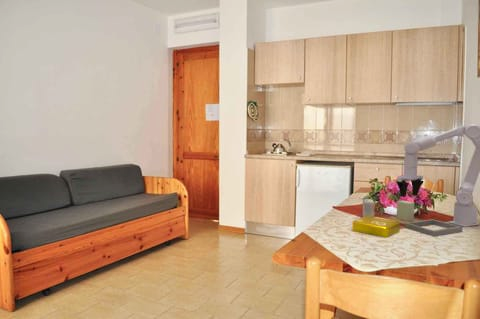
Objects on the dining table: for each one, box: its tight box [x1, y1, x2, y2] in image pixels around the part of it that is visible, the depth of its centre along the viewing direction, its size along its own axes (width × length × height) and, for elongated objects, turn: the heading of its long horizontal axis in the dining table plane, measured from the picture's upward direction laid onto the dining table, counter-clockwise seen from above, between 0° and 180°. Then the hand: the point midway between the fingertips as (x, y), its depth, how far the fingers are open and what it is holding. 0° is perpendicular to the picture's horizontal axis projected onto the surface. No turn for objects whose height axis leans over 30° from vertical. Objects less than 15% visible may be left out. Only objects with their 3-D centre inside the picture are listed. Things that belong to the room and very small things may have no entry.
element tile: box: [352, 216, 401, 238], centre depth 160 cm, size 15×15×5 cm
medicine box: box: [361, 198, 375, 218], centre depth 179 cm, size 8×4×9 cm, turn 168°
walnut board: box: [383, 215, 425, 227], centre depth 176 cm, size 14×12×1 cm
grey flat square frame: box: [404, 218, 464, 237], centre depth 162 cm, size 17×14×2 cm
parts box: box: [396, 200, 415, 221], centre depth 175 cm, size 4×6×8 cm, turn 25°
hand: (409, 196), depth 181 cm, fingers open, 7 cm apart
